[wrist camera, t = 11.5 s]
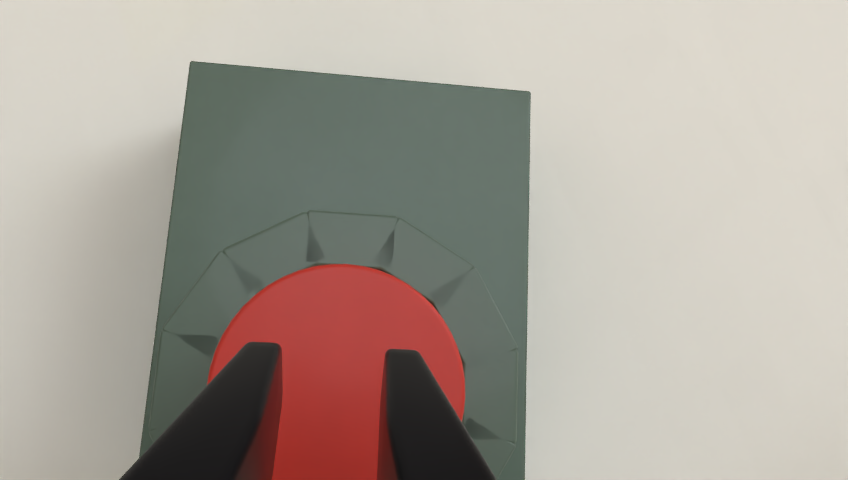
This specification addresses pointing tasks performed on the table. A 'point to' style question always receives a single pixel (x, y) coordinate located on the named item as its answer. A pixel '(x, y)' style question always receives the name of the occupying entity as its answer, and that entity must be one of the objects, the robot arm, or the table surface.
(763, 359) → the table surface
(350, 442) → the button
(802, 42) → the table surface
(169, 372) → the control block
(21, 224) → the table surface
